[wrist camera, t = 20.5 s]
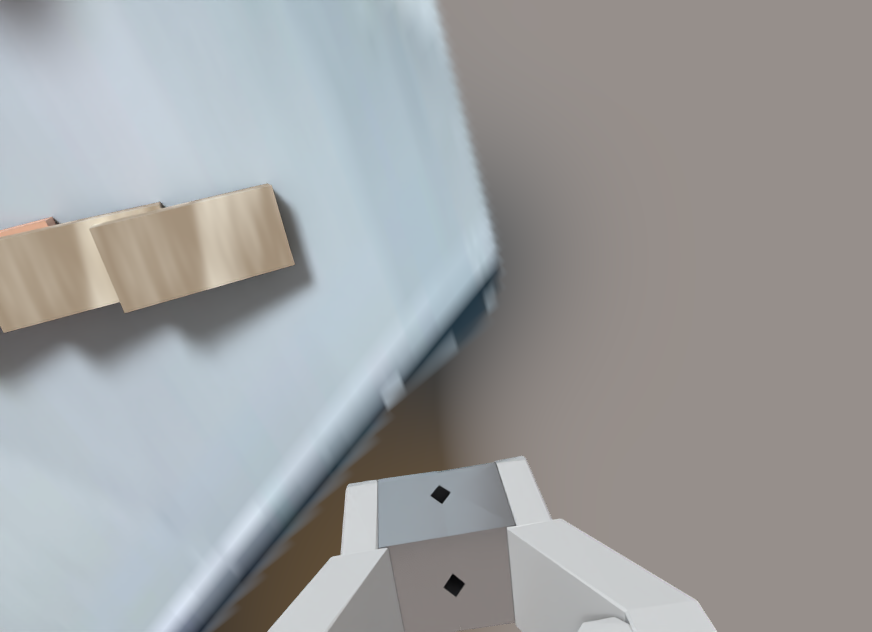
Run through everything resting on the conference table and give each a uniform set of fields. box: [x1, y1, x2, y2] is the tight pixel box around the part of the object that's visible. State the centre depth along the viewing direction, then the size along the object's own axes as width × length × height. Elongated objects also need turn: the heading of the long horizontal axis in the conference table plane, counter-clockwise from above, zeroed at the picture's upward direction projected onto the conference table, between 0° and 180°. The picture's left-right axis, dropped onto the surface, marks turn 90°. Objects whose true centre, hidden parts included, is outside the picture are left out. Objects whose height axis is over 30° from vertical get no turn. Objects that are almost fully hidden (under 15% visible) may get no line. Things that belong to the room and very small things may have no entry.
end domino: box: [89, 184, 295, 313], centre depth 34 cm, size 2×5×10 cm
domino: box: [0, 202, 162, 333], centre depth 34 cm, size 2×5×10 cm
